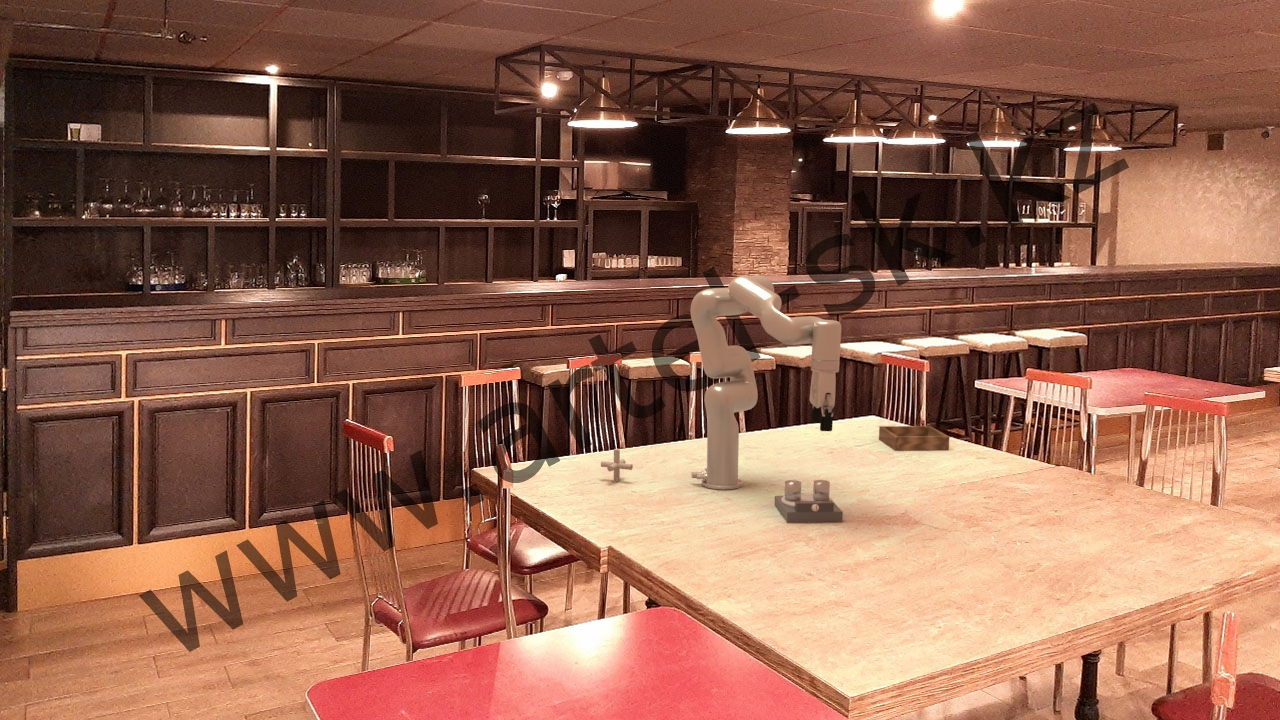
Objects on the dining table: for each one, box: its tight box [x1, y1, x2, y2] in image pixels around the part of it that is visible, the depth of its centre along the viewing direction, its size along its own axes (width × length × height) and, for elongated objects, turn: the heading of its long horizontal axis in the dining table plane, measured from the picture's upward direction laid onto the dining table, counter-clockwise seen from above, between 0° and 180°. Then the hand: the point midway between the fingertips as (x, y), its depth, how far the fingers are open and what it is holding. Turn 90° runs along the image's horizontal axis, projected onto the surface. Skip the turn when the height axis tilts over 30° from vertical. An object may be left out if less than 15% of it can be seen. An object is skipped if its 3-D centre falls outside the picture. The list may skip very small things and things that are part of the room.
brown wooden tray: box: [878, 425, 950, 452], centre depth 373 cm, size 19×19×5 cm
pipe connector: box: [600, 448, 634, 483], centre depth 317 cm, size 10×10×10 cm
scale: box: [774, 492, 844, 524], centre depth 283 cm, size 15×17×5 cm
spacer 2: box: [812, 479, 831, 501], centre depth 284 cm, size 4×4×5 cm
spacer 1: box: [784, 479, 802, 502], centre depth 284 cm, size 4×4×5 cm
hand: (821, 426), depth 282 cm, fingers open, 9 cm apart
